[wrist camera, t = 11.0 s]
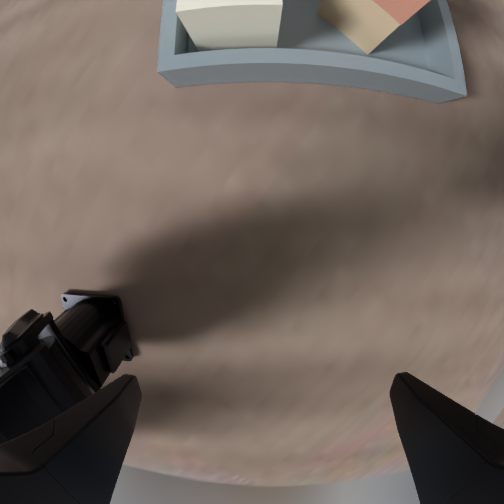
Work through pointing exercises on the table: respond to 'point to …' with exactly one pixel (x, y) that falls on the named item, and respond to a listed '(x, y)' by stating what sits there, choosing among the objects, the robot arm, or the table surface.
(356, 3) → the oat carton
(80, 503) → the robot arm
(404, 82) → the tote
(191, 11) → the cream rectangular block
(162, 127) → the table surface
